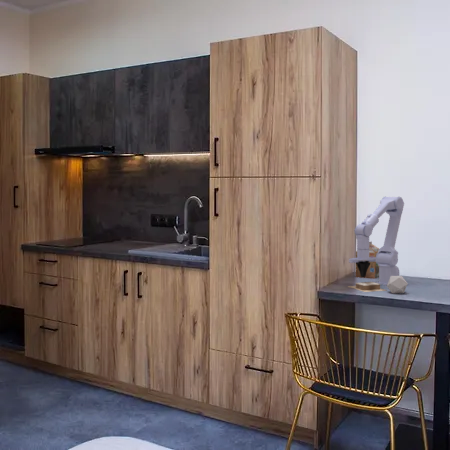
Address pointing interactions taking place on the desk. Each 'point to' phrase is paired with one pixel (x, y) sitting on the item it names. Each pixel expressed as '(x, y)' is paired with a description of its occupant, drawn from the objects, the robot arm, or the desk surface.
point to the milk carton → (373, 268)
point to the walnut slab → (367, 286)
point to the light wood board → (367, 290)
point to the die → (397, 284)
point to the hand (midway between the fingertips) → (363, 276)
